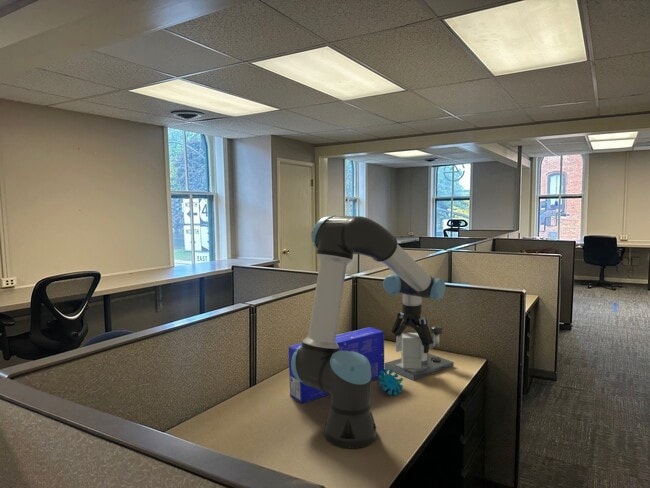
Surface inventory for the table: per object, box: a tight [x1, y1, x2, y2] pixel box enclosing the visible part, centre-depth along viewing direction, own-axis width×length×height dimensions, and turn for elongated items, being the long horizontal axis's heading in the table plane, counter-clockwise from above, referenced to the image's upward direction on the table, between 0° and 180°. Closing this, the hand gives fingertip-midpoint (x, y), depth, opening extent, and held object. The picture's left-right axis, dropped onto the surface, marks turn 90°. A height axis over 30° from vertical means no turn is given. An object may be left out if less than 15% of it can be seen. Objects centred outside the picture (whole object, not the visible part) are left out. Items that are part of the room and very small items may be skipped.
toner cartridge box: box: [288, 326, 385, 404], centre depth 158 cm, size 39×8×18 cm, turn 126°
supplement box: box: [400, 332, 422, 369], centre depth 172 cm, size 7×7×13 cm
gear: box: [377, 368, 404, 397], centre depth 155 cm, size 11×6×10 cm
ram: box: [429, 325, 444, 348], centre depth 179 cm, size 5×5×8 cm
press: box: [384, 317, 455, 381], centre depth 176 cm, size 24×16×18 cm, turn 126°
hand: (411, 355), depth 172 cm, fingers open, 13 cm apart
